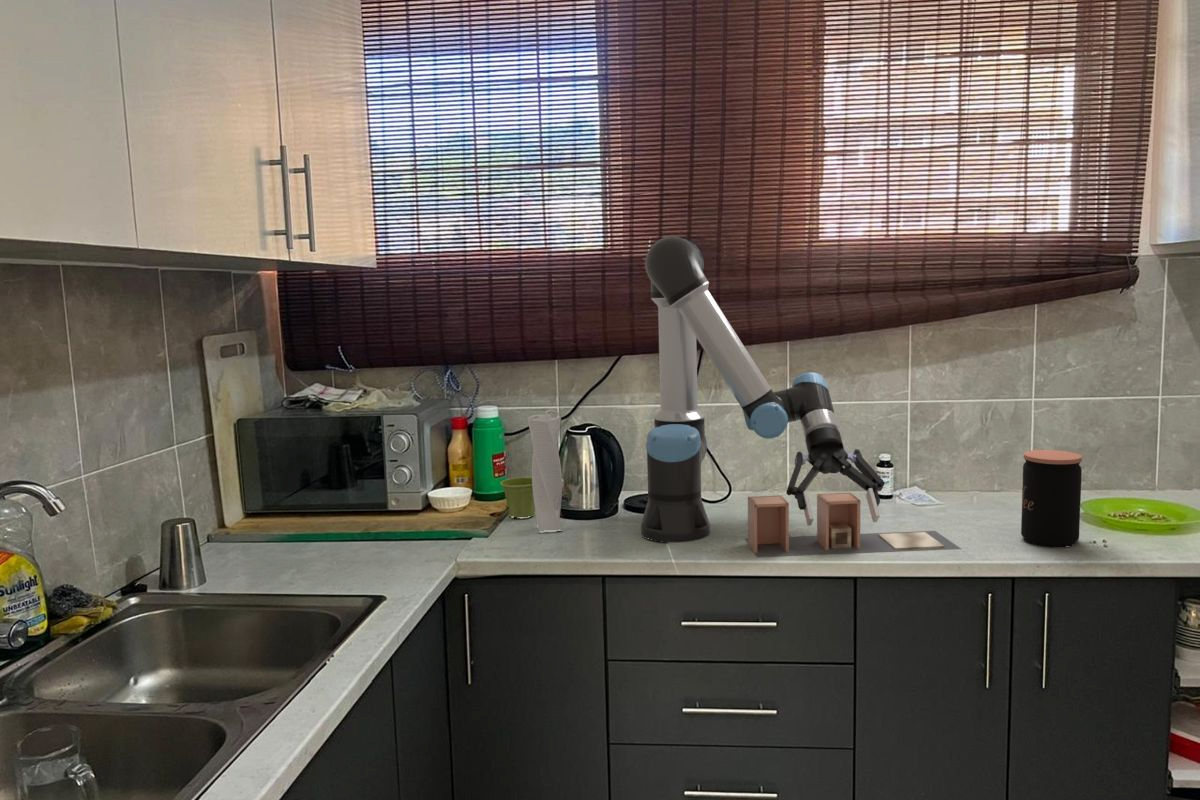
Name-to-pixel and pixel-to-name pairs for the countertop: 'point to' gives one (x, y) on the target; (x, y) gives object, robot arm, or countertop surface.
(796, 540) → the mat
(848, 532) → the letter cube
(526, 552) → the countertop surface
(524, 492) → the plant pot
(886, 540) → the coaster
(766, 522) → the cover
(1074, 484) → the coffee jar
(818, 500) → the cover
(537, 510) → the skyscraper
